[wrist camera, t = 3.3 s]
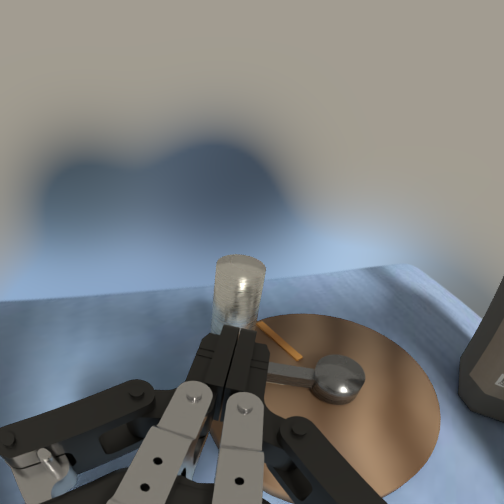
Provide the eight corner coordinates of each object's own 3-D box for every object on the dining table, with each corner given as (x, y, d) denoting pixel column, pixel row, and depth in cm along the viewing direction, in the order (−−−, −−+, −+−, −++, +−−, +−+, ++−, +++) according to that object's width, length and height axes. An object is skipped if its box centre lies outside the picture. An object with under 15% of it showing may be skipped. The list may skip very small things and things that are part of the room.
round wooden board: (406, 338, 32) (412, 326, 31) (451, 498, 14) (463, 489, 14) (230, 310, 33) (232, 296, 33) (172, 485, 16) (170, 476, 15)
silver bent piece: (355, 370, 25) (395, 279, 21) (360, 407, 21) (410, 312, 17) (214, 347, 25) (224, 248, 21) (202, 382, 22) (209, 277, 18)
